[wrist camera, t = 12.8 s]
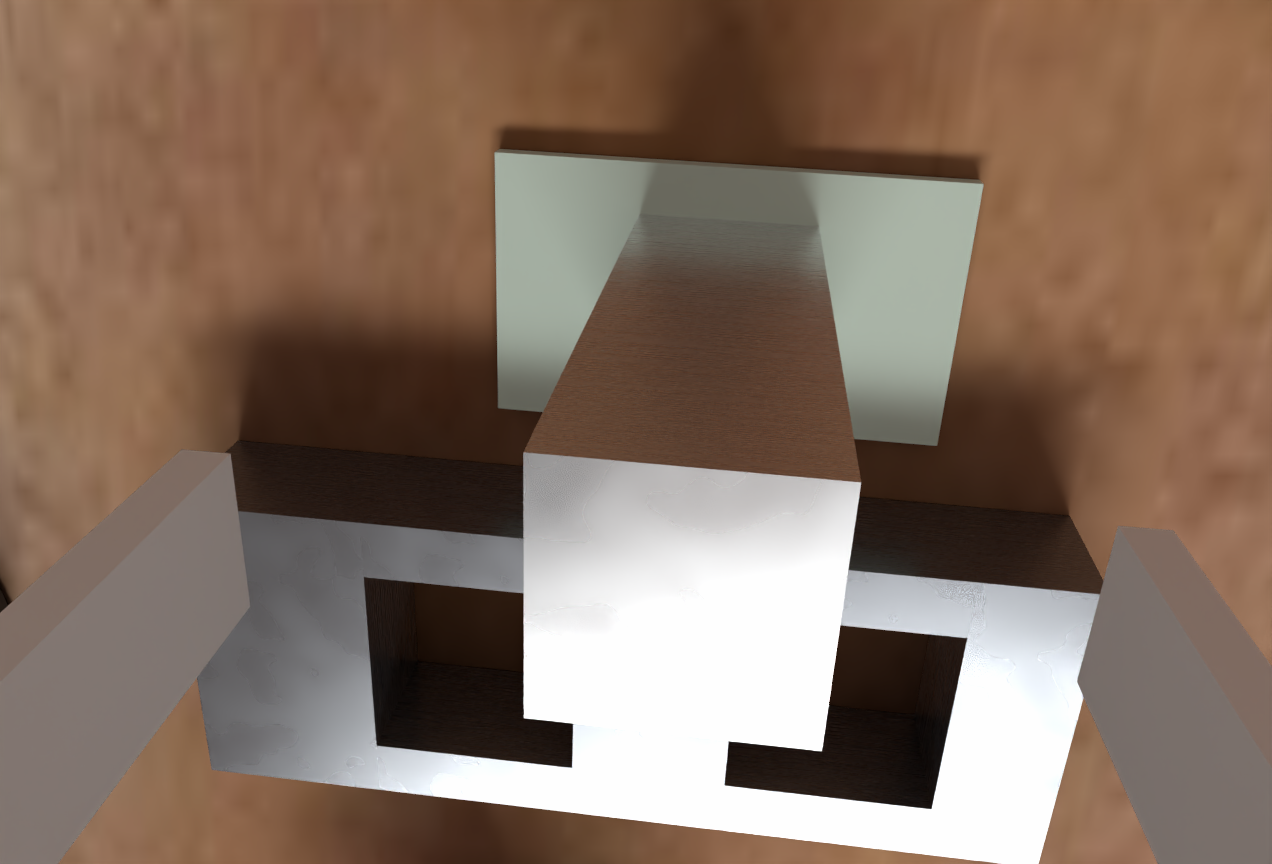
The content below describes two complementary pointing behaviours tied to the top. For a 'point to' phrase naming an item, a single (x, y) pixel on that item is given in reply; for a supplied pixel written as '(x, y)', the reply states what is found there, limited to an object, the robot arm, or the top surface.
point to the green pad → (833, 200)
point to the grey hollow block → (629, 759)
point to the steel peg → (694, 494)
